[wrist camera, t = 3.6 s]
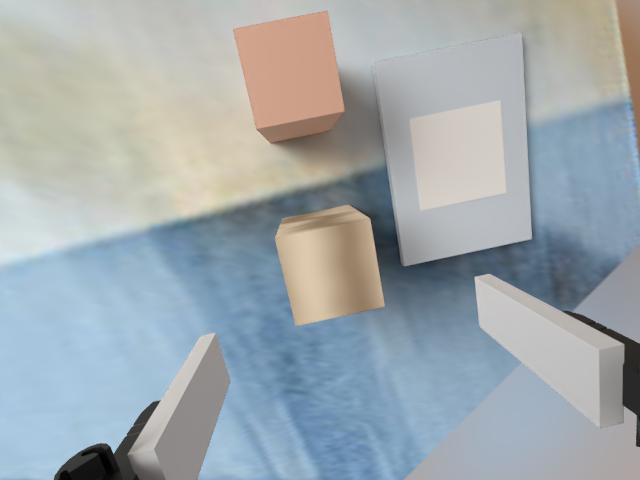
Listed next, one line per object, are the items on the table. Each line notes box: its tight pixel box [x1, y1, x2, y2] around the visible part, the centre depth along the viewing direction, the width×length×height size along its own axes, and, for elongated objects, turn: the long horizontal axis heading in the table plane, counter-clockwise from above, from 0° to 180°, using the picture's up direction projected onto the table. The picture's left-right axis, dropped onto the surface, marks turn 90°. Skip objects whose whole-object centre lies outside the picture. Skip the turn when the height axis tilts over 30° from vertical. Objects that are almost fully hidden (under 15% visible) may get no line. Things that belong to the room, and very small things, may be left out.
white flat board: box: [372, 32, 532, 266], centre depth 31 cm, size 14×20×1 cm
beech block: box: [275, 205, 385, 326], centre depth 28 cm, size 7×7×10 cm
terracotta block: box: [233, 11, 345, 143], centre depth 25 cm, size 6×6×10 cm
